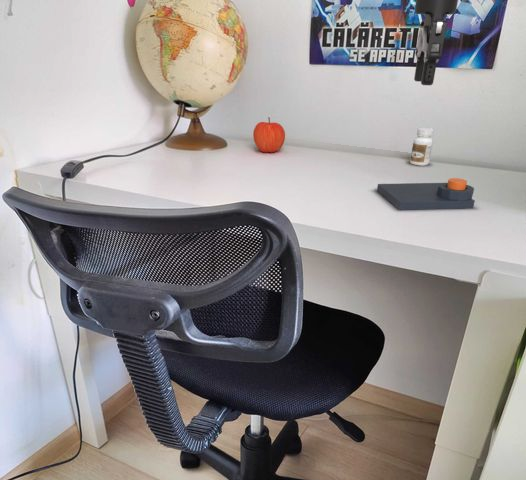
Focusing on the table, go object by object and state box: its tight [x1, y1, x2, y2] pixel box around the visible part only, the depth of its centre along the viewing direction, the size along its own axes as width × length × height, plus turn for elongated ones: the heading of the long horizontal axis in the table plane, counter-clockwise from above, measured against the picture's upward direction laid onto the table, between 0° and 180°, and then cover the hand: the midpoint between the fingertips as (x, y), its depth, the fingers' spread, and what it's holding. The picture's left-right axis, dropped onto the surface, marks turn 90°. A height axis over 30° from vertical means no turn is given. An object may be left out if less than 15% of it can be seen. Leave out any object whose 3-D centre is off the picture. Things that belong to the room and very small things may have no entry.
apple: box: [252, 117, 286, 153], centre depth 123 cm, size 8×8×8 cm
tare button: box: [447, 177, 468, 190], centre depth 89 cm, size 3×3×2 cm
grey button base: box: [376, 182, 476, 211], centre depth 92 cm, size 14×12×3 cm
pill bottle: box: [409, 126, 434, 167], centre depth 115 cm, size 4×4×8 cm
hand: (422, 83), depth 99 cm, fingers open, 8 cm apart
